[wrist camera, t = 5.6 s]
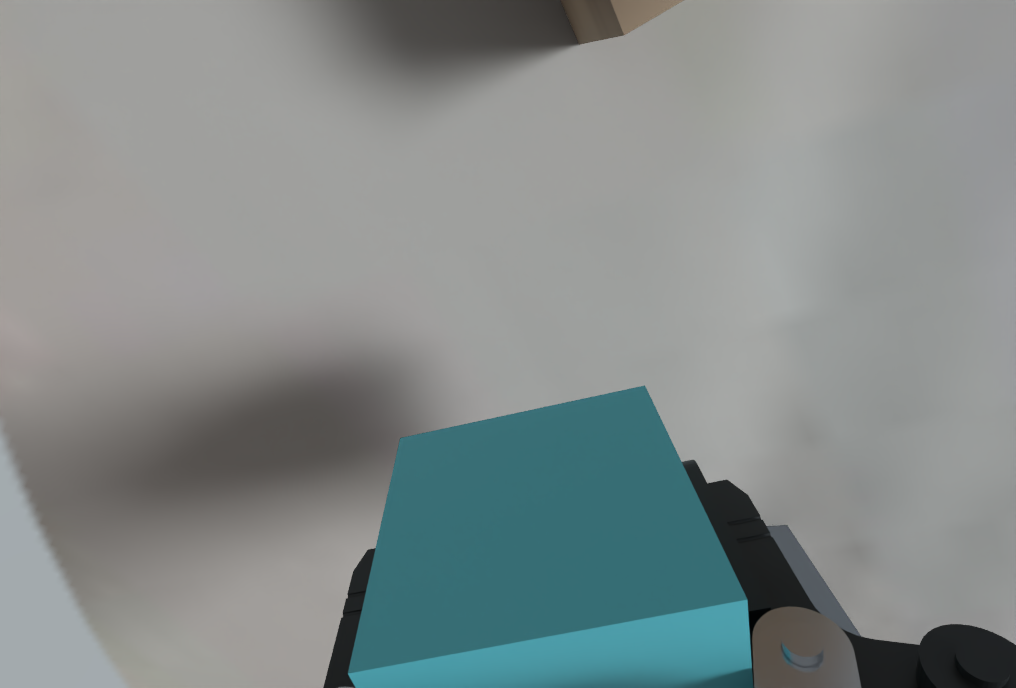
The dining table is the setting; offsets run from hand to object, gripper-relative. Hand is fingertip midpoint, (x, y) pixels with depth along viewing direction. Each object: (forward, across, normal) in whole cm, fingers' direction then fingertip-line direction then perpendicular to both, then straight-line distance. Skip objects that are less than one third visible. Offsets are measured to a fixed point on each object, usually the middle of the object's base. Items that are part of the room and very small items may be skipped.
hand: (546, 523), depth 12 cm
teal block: (0, 0, 0) cm, 0 cm away
